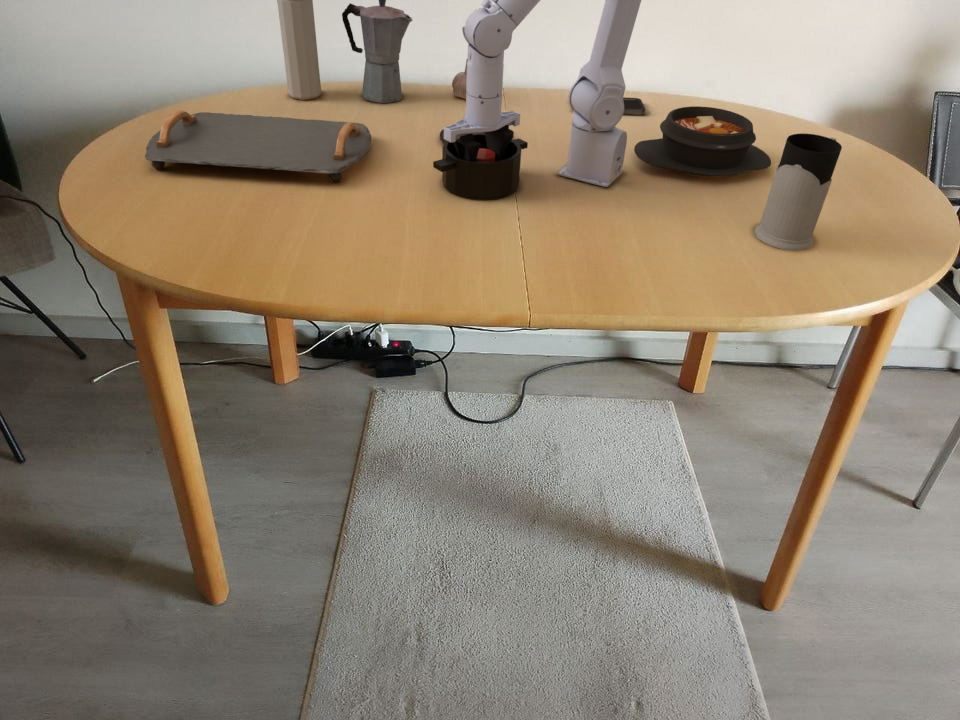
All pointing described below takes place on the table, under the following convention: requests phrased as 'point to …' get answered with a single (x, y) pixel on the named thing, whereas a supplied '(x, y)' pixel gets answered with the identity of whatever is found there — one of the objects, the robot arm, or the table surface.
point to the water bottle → (300, 48)
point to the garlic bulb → (460, 83)
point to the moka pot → (380, 49)
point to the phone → (633, 106)
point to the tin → (485, 155)
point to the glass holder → (798, 191)
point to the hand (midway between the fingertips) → (480, 173)
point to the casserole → (704, 143)
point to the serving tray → (259, 143)
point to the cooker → (481, 172)
